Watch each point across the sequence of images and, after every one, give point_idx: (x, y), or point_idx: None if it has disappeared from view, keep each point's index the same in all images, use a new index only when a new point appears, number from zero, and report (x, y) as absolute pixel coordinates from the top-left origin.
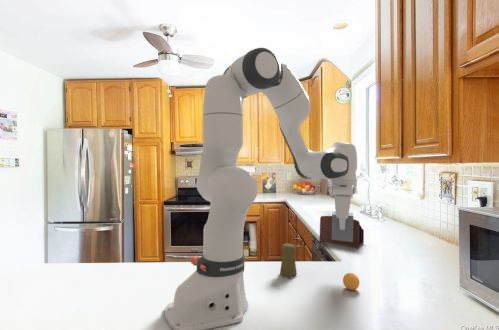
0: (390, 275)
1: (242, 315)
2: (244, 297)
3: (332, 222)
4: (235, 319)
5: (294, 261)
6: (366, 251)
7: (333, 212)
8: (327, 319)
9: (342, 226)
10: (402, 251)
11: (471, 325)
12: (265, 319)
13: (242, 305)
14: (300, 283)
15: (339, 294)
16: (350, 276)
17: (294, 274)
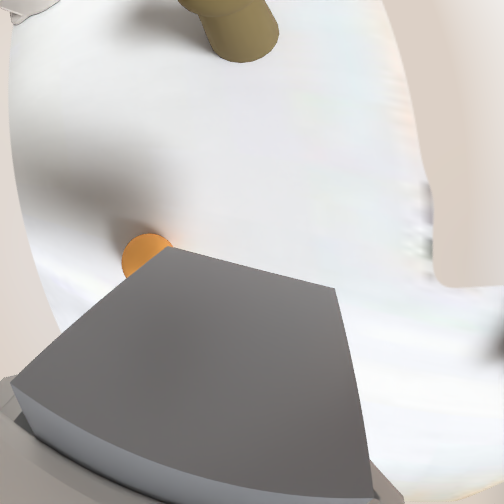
0: None
1: (20, 20)
2: (26, 2)
3: (80, 324)
4: (11, 19)
5: (216, 32)
6: (491, 379)
7: (229, 489)
8: (24, 167)
9: None
10: (460, 448)
11: None
12: (19, 55)
13: (19, 11)
14: (170, 80)
15: (118, 208)
16: (124, 264)
17: (217, 52)
